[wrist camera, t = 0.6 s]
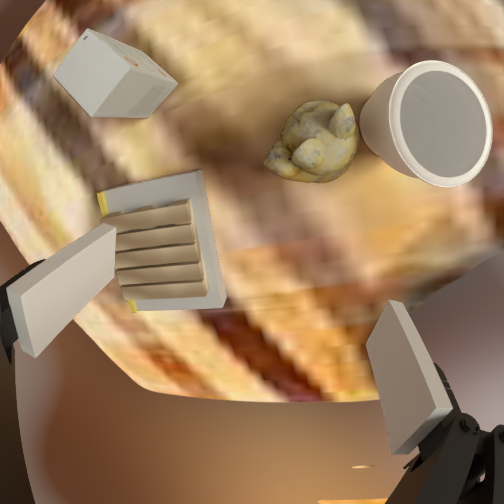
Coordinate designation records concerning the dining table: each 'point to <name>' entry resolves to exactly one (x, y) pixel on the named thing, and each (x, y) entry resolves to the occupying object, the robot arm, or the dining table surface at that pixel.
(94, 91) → the small box
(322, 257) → the dining table surface
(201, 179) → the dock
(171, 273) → the pallet
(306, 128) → the decorative figurine
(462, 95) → the jar
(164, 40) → the dining table surface
